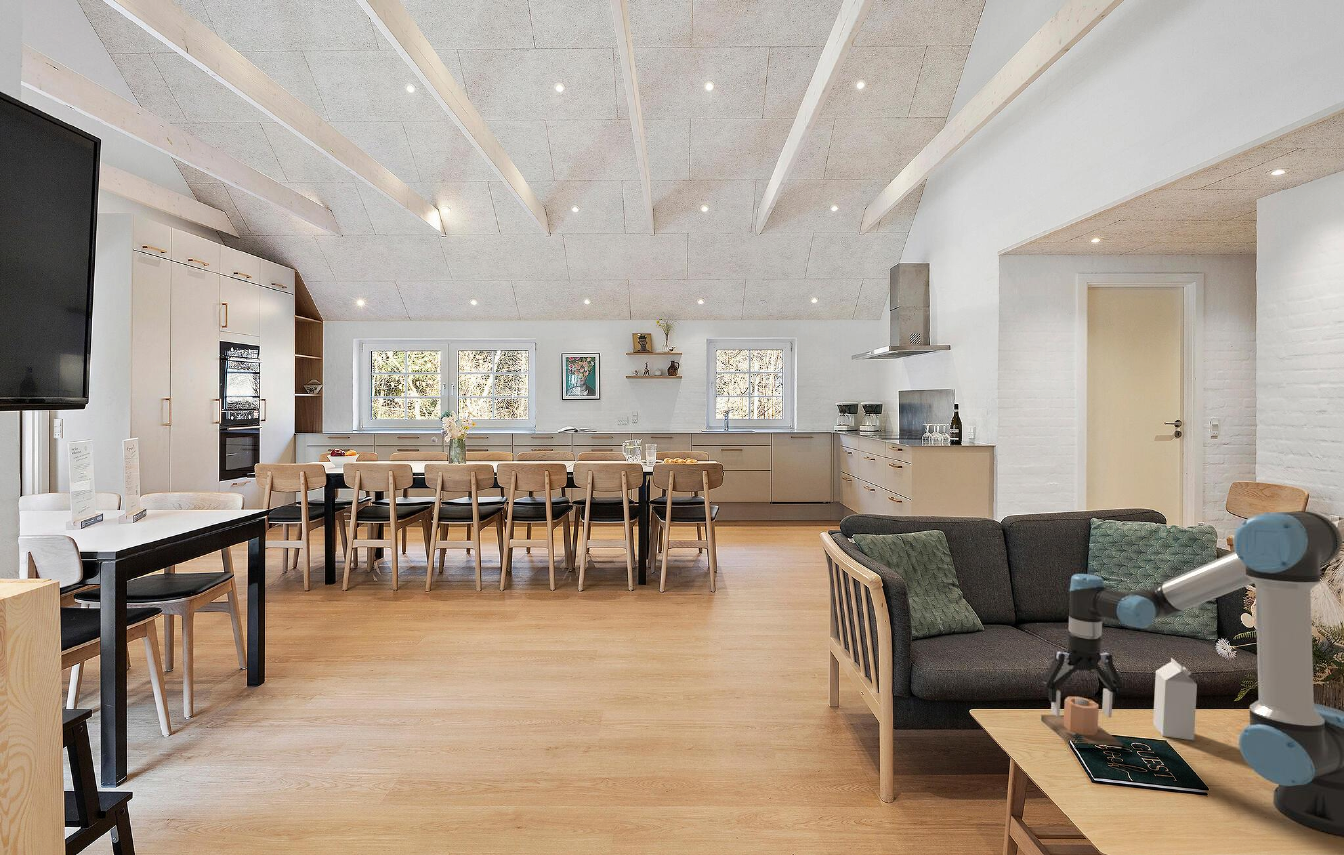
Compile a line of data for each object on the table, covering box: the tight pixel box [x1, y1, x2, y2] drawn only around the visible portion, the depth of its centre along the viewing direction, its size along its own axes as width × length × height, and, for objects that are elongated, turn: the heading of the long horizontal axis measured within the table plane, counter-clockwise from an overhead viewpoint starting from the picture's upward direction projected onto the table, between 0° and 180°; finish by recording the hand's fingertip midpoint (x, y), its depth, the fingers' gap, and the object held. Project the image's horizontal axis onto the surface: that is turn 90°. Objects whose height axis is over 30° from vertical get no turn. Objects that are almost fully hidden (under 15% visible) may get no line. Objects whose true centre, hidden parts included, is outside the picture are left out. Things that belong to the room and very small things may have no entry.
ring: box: [1063, 696, 1100, 735], centre depth 186 cm, size 7×7×7 cm
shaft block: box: [1040, 697, 1124, 747], centre depth 186 cm, size 16×12×9 cm
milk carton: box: [1152, 657, 1198, 741], centre depth 188 cm, size 7×7×19 cm
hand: (1080, 714), depth 186 cm, fingers open, 13 cm apart
